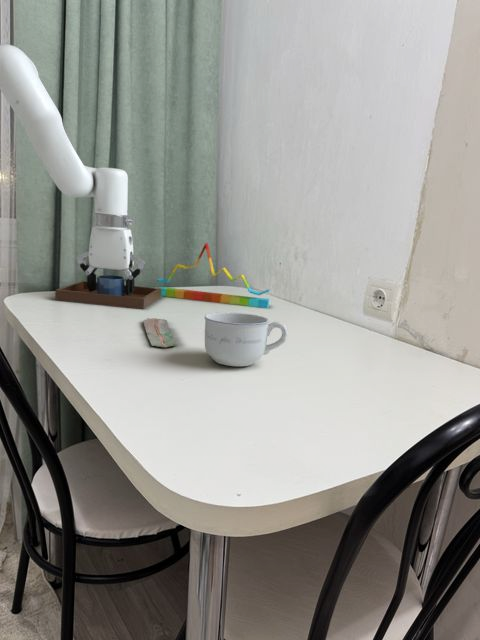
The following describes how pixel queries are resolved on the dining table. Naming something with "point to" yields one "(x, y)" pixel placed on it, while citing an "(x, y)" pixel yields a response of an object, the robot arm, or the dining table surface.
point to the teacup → (239, 337)
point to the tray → (108, 296)
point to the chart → (214, 296)
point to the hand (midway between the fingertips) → (110, 292)
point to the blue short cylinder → (111, 285)
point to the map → (159, 332)
